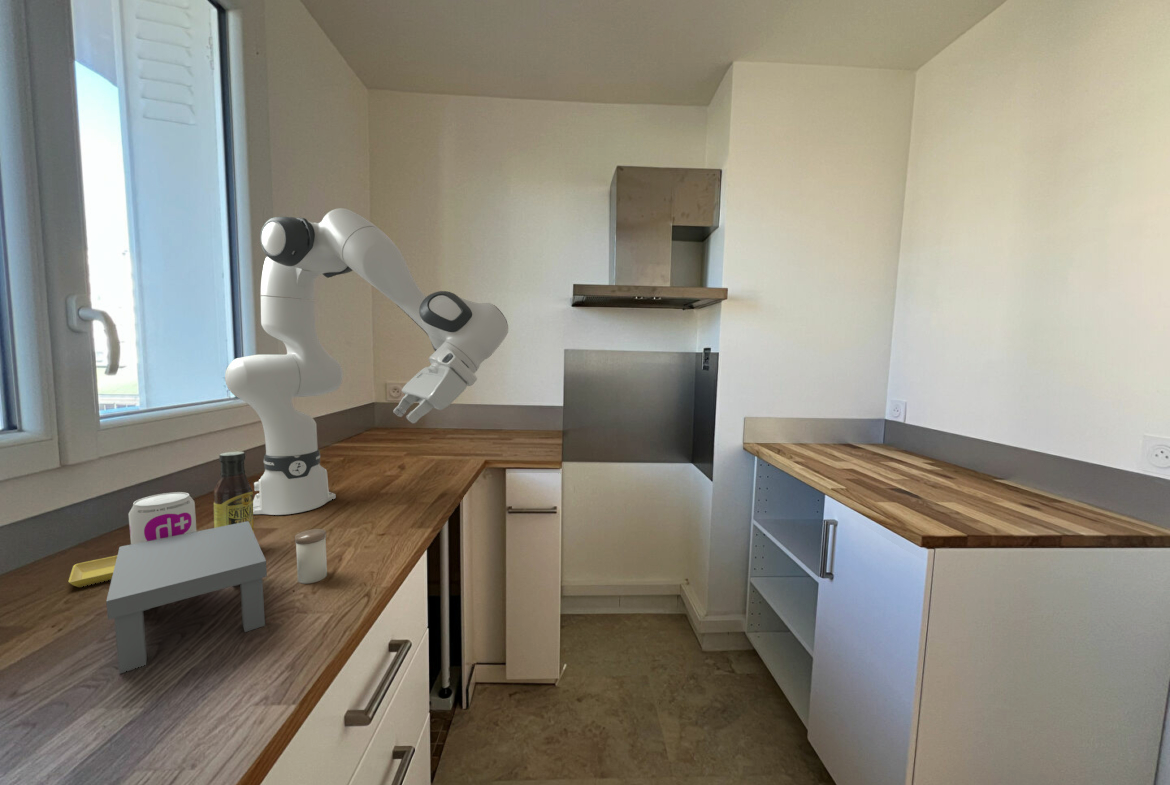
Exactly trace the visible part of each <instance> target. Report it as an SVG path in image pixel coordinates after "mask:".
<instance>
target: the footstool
mask: <svg viewBox="0 0 1170 785" xmlns="http://www.w3.org/2000/svg"><path fill="white" fill-rule="evenodd" d="M267 571H268V570H267V561H266V558H265V555H264V553H263V551H262V549H261V546H260V544H259V542H258V539H257V538H256V534H255V532H254V533H253V530H252V528H251V526H250V524H249V521H247V522H242V523H237V524H231V525H226V526H221V527H216V528H214V527H213V528H208V529H203V530H197V531H196V532H191V533H186V534H181V535H176V536H171V537H166V538H161V539H156V540H151V541H146V542H141V543H136V544H131V543H130V544H126V545H122V546H119V548H118V552H117V559H116V564H115V568H114V572H113V576H112V580H110V585H109V587H108V588H109V589H108V592H107V597H106V601H105V602H106V613H107V620H108V621H109V620H113V619H114V629H115V640H116V651H117V652H116V653H117V662H118V664H117V665H118V673H119V674H118V675H121V674H123V673H127V672H129V671H133V670H136V669H138V667H139V668H142V667H144V665H145V666H147V659H148V658H147V657H148V654H147V642H146V629H145V618H144V612H145V611H149V610H151V609H153V608H157V607H160V606H164V605H168V604H171V603H175V602H179V601H183V600H187V599H189V598H193V597H197V596H200V595H205V594H207V593H208V594H209V593H211V592H216V591H219V590H223V589H226V588H230V587H236V586H240V600H241V602H240V603H241V617H242V618H241V619H242V627H243V631H244V633H247V632H250V631H253V630H255V629H258V628H262V627H265V626H266V623H265V622H266V621H265V620H266V619H265V604H264V603H265V600H264V584H263V578H267V577H268V575H267V574H268V573H267ZM141 666H142V667H141ZM135 668H136V669H135ZM126 671H127V672H126Z"/></svg>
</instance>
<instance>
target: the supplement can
mask: <svg viewBox="0 0 1170 785" xmlns="http://www.w3.org/2000/svg"><path fill="white" fill-rule="evenodd" d="M195 502H196V501H195V500H194V499H193V498H192V497H191V496H190V493H188V492H184V491H183V492H182V491H177V492H176V491H175V492H166V493H165V492H163V493H158V494H153V495H149V496H146V497H142V498H138V499H137V500H135V501H133V504H132V506H131V507H130V508H131V509H130V510H129V512H128V526H129V535H130V545H131V544H136V543H141V542H146V541H151V540H156V539H161V538H166V537H171V536H176V535H181V534H186V533H191V532H196V531H198V530H197V521H196V520H197V518H196V517H197V516H196V504H195Z"/></svg>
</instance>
